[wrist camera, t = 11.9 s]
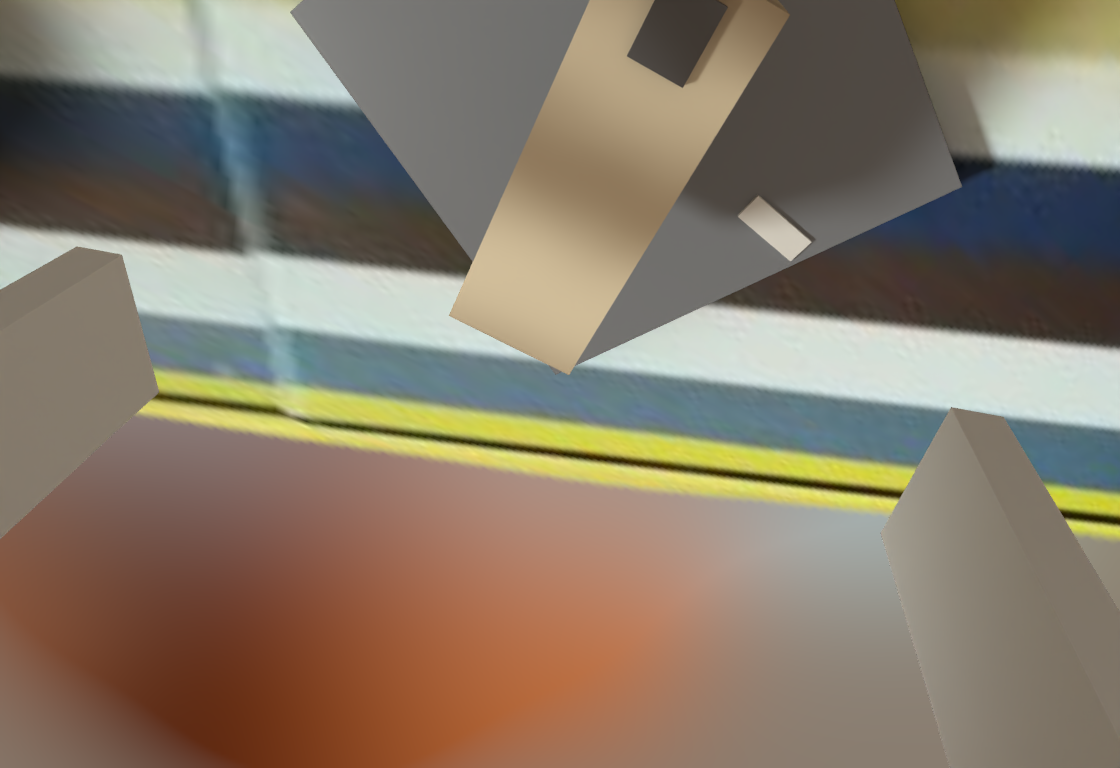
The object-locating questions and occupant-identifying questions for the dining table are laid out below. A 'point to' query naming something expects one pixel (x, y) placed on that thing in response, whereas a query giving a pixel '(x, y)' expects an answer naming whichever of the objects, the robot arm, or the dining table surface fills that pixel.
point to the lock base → (722, 174)
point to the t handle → (608, 164)
